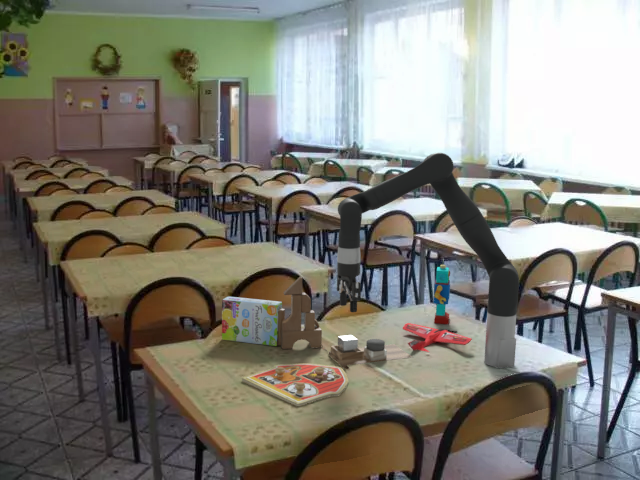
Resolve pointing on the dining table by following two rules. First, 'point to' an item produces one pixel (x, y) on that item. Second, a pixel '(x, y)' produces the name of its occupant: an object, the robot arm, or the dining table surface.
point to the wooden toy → (298, 320)
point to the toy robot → (441, 294)
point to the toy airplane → (433, 336)
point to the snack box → (250, 320)
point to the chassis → (367, 355)
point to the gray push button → (375, 344)
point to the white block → (347, 343)
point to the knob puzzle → (300, 382)
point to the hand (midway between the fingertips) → (348, 308)
